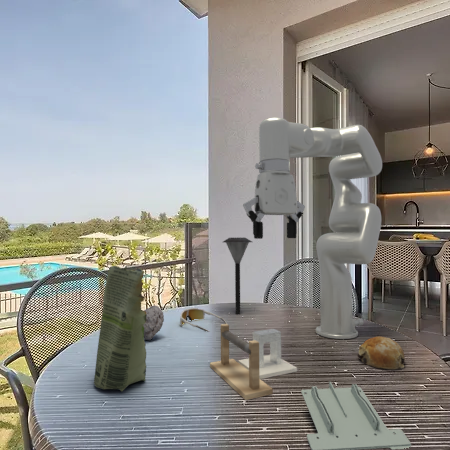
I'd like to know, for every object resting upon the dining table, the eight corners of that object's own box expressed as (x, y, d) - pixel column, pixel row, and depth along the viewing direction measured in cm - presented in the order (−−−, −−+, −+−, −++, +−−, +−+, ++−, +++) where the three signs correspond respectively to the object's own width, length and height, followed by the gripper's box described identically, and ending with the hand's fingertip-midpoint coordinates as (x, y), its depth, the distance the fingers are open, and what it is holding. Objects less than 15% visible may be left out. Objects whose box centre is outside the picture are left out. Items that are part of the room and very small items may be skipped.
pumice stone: (159, 333, 109) (158, 301, 109) (168, 339, 102) (168, 306, 102) (126, 338, 103) (126, 305, 104) (134, 345, 97) (134, 310, 97)
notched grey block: (274, 359, 83) (274, 328, 83) (281, 363, 81) (281, 331, 81) (252, 363, 81) (252, 331, 81) (259, 368, 78) (259, 335, 78)
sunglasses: (198, 318, 129) (199, 305, 129) (230, 330, 120) (232, 316, 120) (171, 326, 118) (173, 312, 117) (205, 340, 109) (206, 325, 109)
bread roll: (393, 388, 77) (410, 359, 76) (350, 361, 82) (365, 333, 81) (398, 373, 86) (413, 346, 84) (358, 349, 91) (372, 323, 89)
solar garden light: (259, 313, 135) (259, 237, 135) (239, 319, 126) (238, 237, 127) (236, 309, 143) (236, 237, 144) (215, 314, 134) (215, 237, 135)
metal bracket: (289, 378, 61) (369, 375, 63) (287, 405, 63) (365, 401, 64) (316, 449, 48) (418, 442, 49) (313, 481, 49) (412, 474, 50)
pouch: (104, 371, 79) (105, 262, 79) (156, 372, 78) (156, 262, 79) (83, 394, 67) (84, 267, 68) (143, 395, 67) (143, 267, 68)
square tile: (273, 357, 87) (273, 354, 87) (297, 371, 78) (297, 367, 78) (238, 363, 83) (238, 360, 83) (259, 379, 74) (259, 375, 74)
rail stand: (210, 366, 81) (209, 324, 81) (232, 362, 84) (232, 321, 84) (245, 400, 65) (245, 346, 65) (272, 393, 67) (272, 342, 67)
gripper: (251, 164, 78) (252, 238, 78) (312, 169, 86) (313, 238, 85) (236, 169, 85) (237, 238, 85) (294, 174, 92) (295, 237, 92)
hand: (275, 238), depth 85 cm, fingers open, 9 cm apart
